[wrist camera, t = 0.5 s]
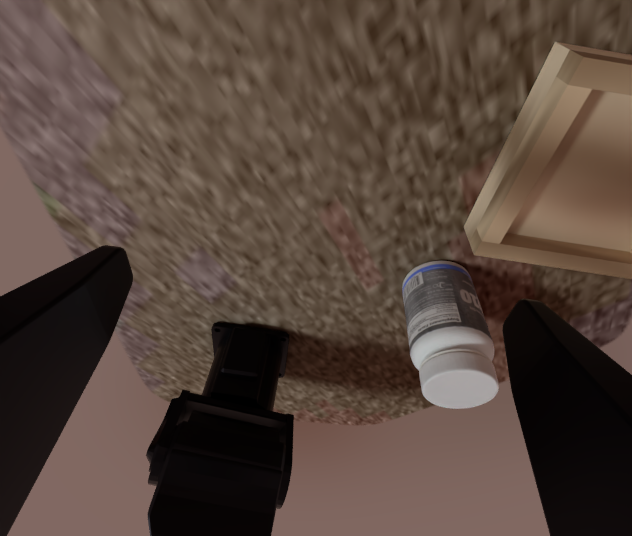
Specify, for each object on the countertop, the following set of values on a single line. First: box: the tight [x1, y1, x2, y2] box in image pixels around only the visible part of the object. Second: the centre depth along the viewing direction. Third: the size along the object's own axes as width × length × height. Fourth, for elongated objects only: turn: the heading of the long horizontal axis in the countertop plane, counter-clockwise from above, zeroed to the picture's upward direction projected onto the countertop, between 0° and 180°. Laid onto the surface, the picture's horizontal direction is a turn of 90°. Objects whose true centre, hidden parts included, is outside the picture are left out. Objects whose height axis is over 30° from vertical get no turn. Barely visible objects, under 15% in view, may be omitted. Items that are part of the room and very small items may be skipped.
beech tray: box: [464, 42, 632, 279], centre depth 19 cm, size 10×10×3 cm
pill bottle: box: [402, 260, 499, 409], centre depth 23 cm, size 5×5×8 cm
